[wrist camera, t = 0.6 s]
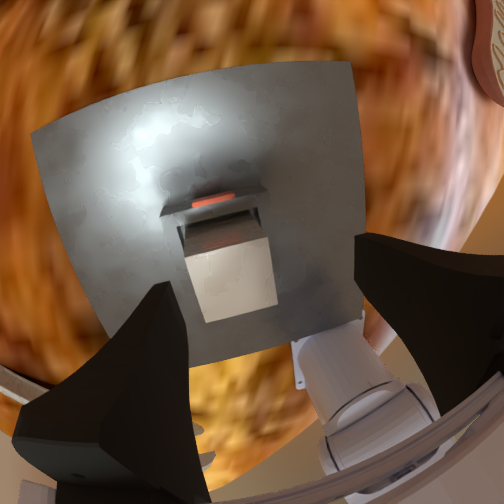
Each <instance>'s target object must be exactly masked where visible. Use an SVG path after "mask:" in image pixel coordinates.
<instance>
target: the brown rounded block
mask: <svg viewBox="0 0 504 504" xmlns="http://www.w3.org/2000/svg"><path fill="white" fill-rule="evenodd" d="M475 4H476V34H475V40H474V45H473V50H472V56H471V58H472V67H473V71H474V73H475V76H476V79H477V80H478V82H479V84H480V86H481V87H482V89H483V90H484V92H485V93H486V94H487V95H488V96H489V97H490V98H491V99H492V100H493V101H495V102H496V103H497V104H499V105H501V106H502V107H504V0H475Z"/></svg>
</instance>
